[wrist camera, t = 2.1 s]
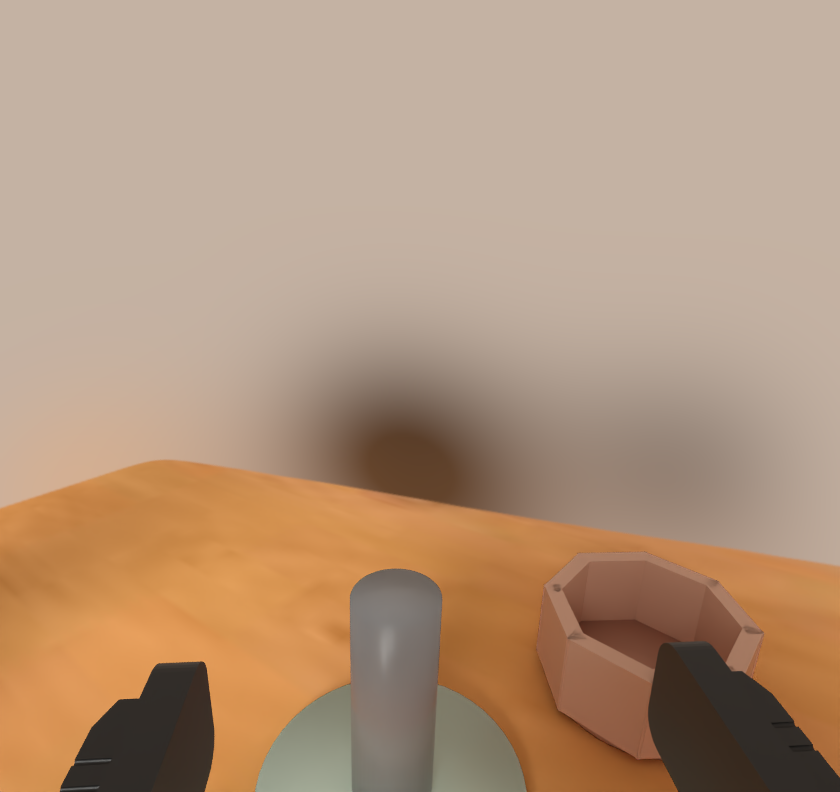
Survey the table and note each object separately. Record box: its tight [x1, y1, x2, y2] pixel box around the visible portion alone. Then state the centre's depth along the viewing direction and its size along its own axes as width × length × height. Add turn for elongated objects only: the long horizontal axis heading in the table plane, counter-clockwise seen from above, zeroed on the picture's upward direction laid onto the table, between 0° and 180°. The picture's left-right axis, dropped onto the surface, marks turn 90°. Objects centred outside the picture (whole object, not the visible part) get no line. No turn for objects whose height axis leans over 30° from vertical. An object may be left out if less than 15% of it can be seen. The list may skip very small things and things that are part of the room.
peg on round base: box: [255, 569, 527, 792], centre depth 25 cm, size 12×12×11 cm
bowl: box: [536, 552, 764, 760], centre depth 33 cm, size 10×10×5 cm
